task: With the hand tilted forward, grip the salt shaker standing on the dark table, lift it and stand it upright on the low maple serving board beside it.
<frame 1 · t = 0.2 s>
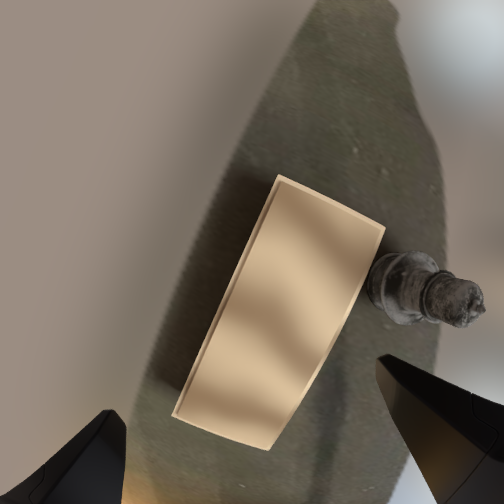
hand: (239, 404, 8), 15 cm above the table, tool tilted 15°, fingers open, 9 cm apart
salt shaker: (392, 282, 23), on the table
deck: (271, 319, 23), on the table
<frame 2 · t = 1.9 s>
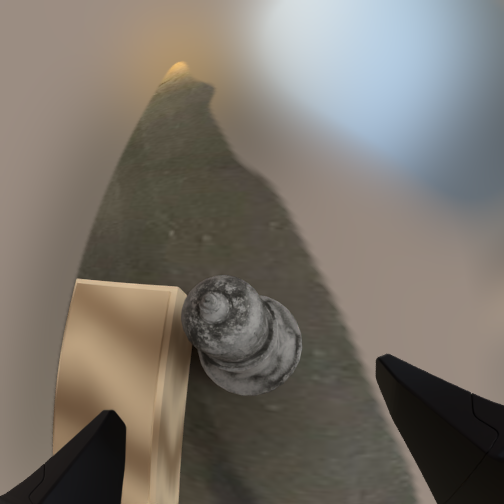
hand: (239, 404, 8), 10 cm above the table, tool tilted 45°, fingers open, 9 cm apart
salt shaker: (256, 351, 19), on the table
deck: (129, 426, 17), on the table
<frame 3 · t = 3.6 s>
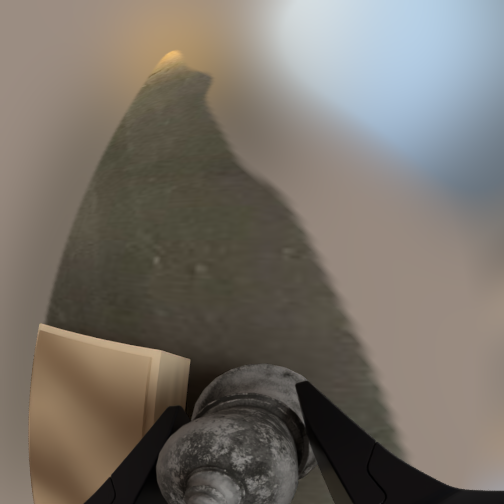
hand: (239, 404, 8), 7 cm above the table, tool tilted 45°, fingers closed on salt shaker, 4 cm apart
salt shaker: (266, 419, 13), on the table, touching gripper
deck: (117, 490, 12), on the table
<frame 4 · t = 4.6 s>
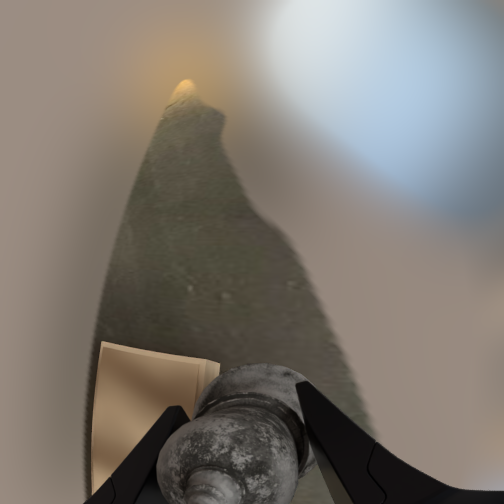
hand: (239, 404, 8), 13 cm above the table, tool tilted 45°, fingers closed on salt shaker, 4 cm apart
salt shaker: (266, 418, 13), point 6 cm above the table, touching gripper
deck: (160, 466, 18), on the table
when the fingers open (12 cm above the table, at t = 5.9 s): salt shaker stays where it is, resting on deck.
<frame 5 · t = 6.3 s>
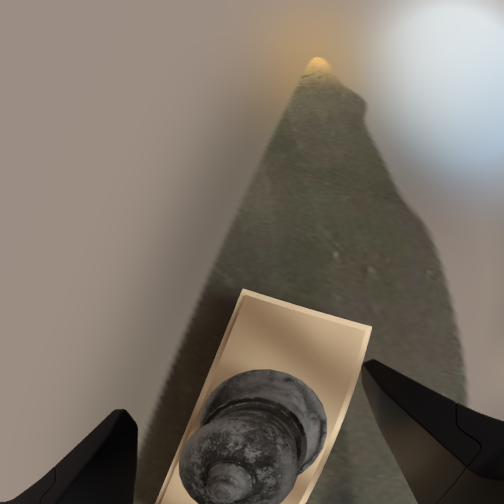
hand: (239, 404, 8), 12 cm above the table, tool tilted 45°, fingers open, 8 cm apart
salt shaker: (267, 419, 14), point 4 cm above the table, touching deck
deck: (257, 445, 17), on the table
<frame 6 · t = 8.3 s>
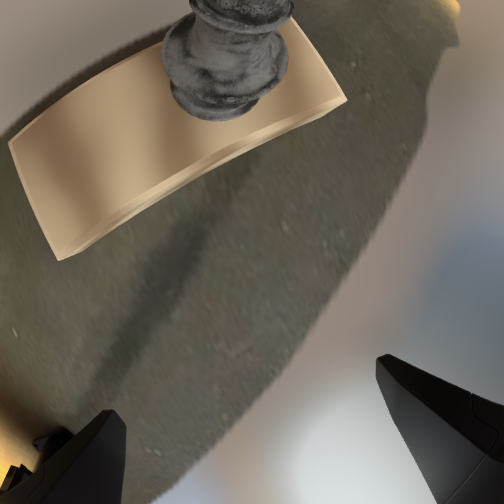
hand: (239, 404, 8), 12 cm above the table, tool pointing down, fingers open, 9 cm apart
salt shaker: (217, 81, 14), point 4 cm above the table, touching deck
deck: (173, 122, 18), on the table
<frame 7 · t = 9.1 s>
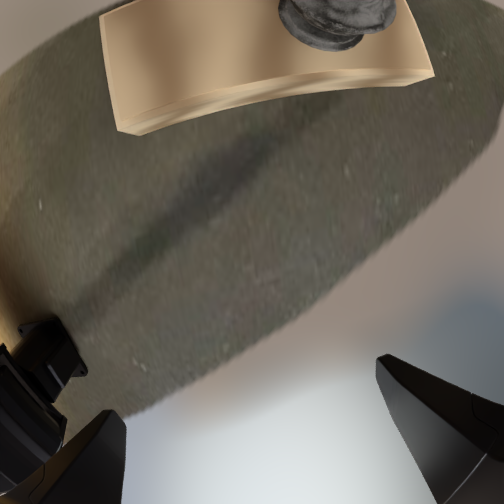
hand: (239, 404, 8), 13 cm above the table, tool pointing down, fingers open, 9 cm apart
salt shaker: (322, 16, 12), point 4 cm above the table, touching deck
deck: (267, 44, 16), on the table
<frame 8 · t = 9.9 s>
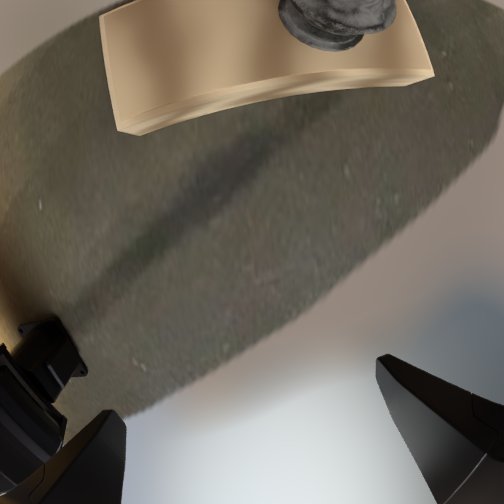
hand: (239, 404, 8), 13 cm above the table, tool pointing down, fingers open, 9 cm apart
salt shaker: (322, 16, 12), point 4 cm above the table, touching deck
deck: (267, 44, 16), on the table
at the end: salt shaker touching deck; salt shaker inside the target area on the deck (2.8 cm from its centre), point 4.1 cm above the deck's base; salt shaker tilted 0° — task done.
